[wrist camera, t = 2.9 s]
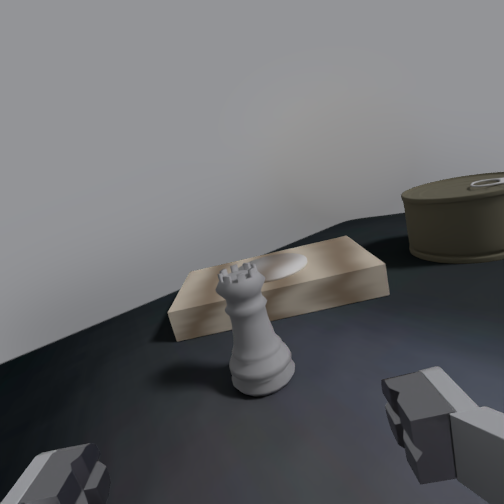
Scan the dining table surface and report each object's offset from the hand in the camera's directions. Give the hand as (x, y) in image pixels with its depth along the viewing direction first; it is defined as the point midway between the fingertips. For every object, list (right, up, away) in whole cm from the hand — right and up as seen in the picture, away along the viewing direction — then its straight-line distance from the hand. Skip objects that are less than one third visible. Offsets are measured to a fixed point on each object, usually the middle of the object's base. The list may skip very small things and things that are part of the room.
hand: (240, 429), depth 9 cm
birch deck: (+3, 0, +27) cm, 27 cm away
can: (+24, +5, +28) cm, 38 cm away
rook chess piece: (+1, -4, +14) cm, 14 cm away
